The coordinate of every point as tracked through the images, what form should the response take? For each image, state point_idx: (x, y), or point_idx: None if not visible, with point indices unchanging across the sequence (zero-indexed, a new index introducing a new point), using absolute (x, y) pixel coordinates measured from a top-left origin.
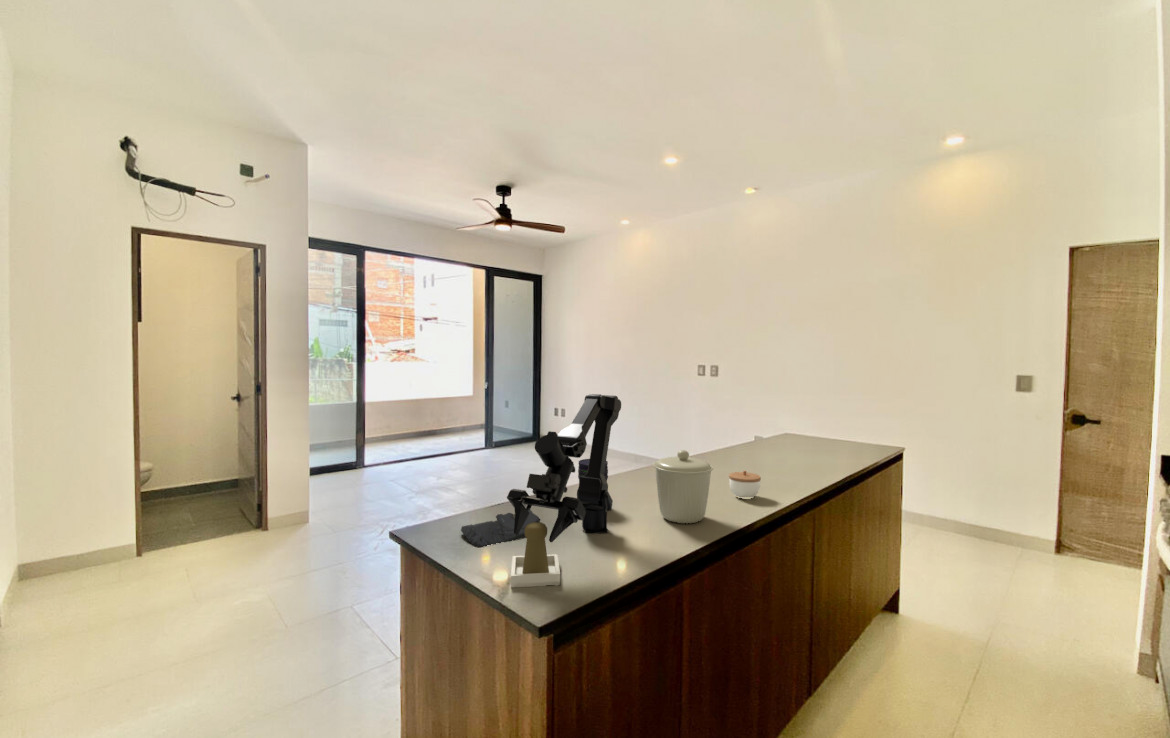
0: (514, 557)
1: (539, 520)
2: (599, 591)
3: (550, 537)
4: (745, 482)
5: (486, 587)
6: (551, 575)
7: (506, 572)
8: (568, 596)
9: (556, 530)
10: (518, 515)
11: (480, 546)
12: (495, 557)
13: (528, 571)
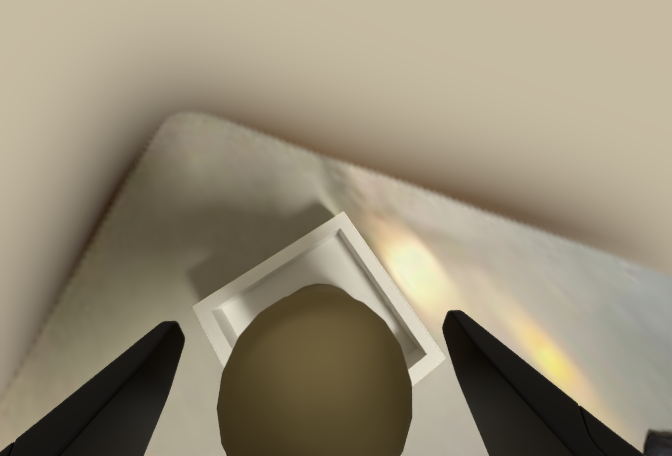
0: (430, 348)
1: None
2: (66, 330)
3: (157, 333)
4: None
5: (400, 192)
6: (222, 287)
7: (415, 299)
8: (157, 253)
9: (76, 400)
10: (583, 447)
11: (652, 441)
12: None
13: (321, 285)
